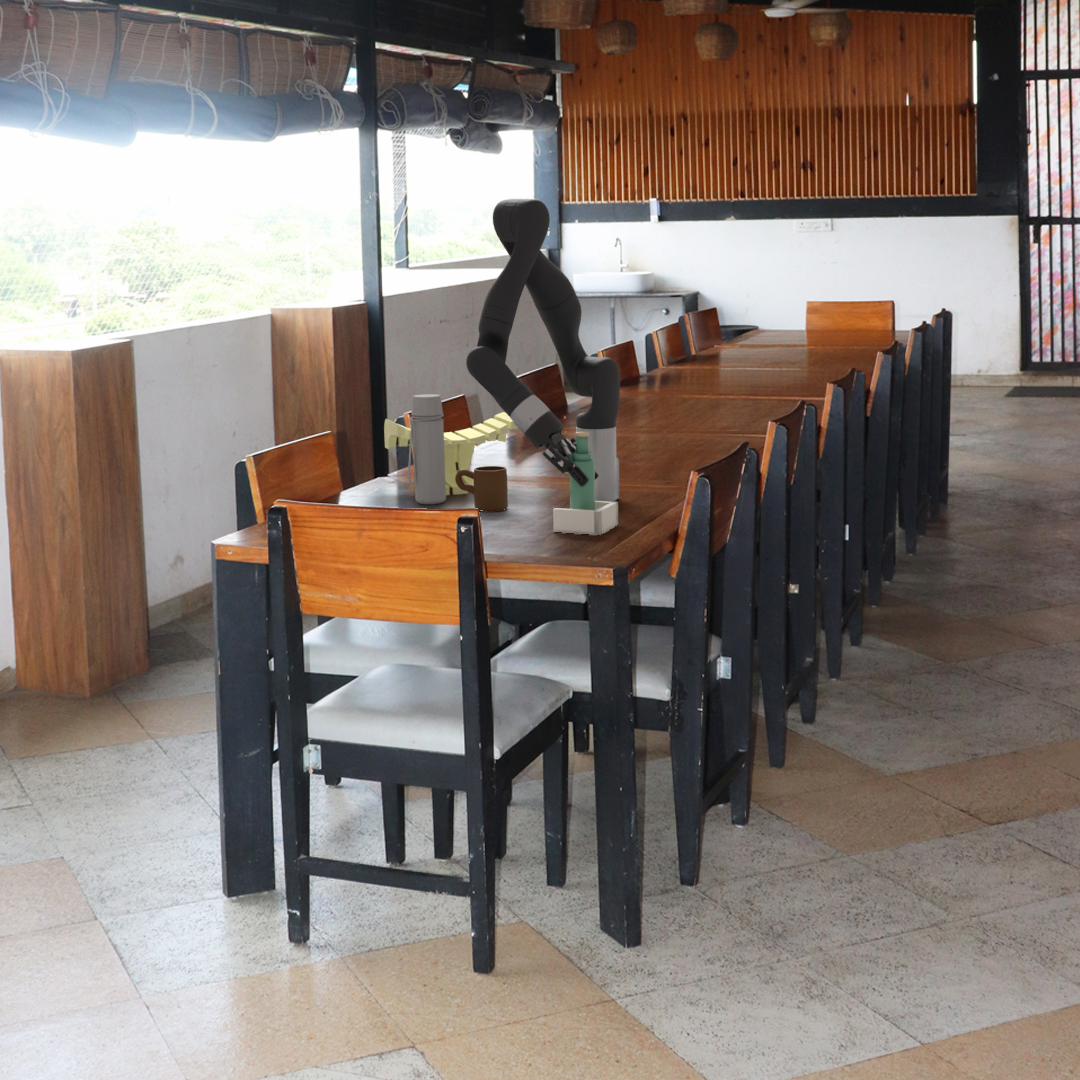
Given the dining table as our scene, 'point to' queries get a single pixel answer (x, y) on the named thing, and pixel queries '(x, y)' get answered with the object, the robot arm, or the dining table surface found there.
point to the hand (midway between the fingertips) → (590, 481)
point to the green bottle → (583, 459)
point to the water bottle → (427, 449)
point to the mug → (486, 487)
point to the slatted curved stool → (456, 445)
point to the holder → (586, 519)
